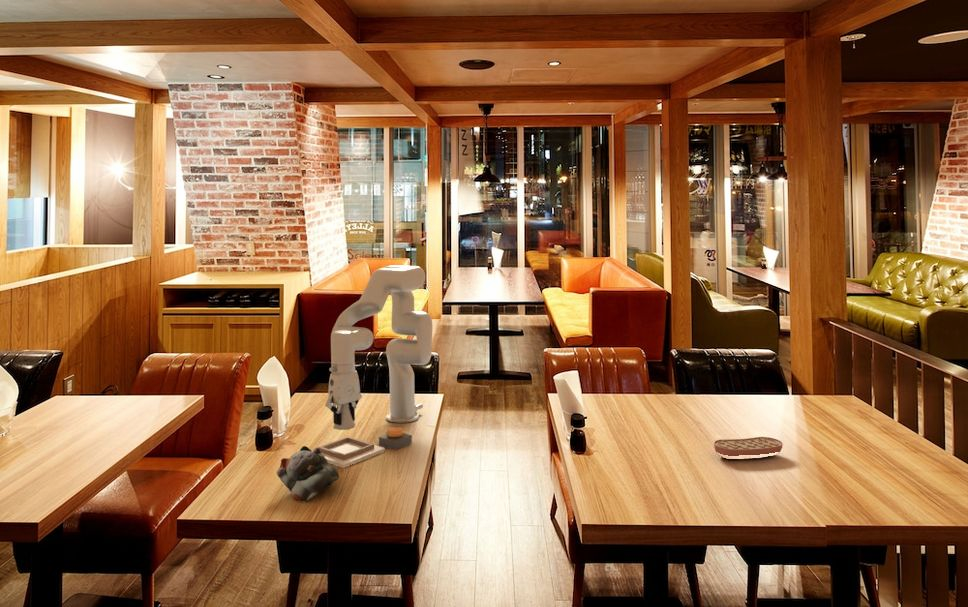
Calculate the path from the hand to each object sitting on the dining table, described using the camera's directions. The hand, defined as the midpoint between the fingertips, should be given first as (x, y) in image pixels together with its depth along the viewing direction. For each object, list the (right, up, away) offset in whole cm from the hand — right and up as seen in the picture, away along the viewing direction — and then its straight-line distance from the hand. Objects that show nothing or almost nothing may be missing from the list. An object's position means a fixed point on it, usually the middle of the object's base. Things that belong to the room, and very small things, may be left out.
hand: (344, 421), depth 211 cm
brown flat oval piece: (+133, -12, -2) cm, 134 cm away
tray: (0, -11, +2) cm, 11 cm away
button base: (+16, -10, +10) cm, 21 cm away
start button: (+16, -9, +10) cm, 21 cm away
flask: (0, -2, 0) cm, 2 cm away
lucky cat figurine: (-4, -16, -28) cm, 32 cm away
